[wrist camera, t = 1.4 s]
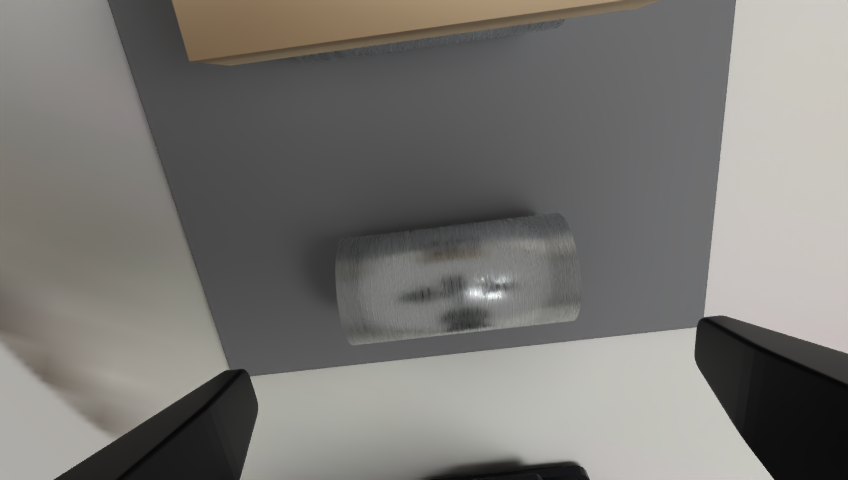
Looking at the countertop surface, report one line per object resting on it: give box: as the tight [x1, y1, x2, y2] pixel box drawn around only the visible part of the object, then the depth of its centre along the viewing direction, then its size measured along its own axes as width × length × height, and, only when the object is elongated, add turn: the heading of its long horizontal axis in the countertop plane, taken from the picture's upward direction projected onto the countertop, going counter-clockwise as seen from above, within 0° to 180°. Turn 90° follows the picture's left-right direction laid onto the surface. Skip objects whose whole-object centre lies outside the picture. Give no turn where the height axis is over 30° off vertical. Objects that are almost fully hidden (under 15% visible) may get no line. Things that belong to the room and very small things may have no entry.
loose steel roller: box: [335, 213, 581, 345], centre depth 12 cm, size 3×6×3 cm, turn 97°
